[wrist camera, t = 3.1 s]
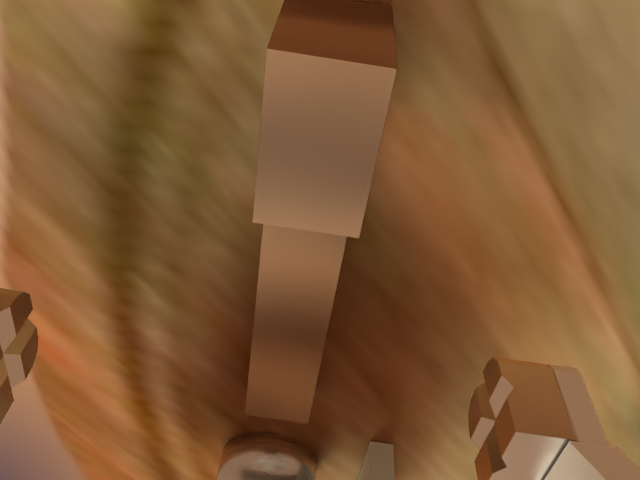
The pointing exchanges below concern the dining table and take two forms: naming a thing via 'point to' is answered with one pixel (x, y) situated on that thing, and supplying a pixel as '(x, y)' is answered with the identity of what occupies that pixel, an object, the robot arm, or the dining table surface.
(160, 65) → the dining table surface
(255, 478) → the steel token
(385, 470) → the grey cube on pedestal
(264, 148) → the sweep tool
